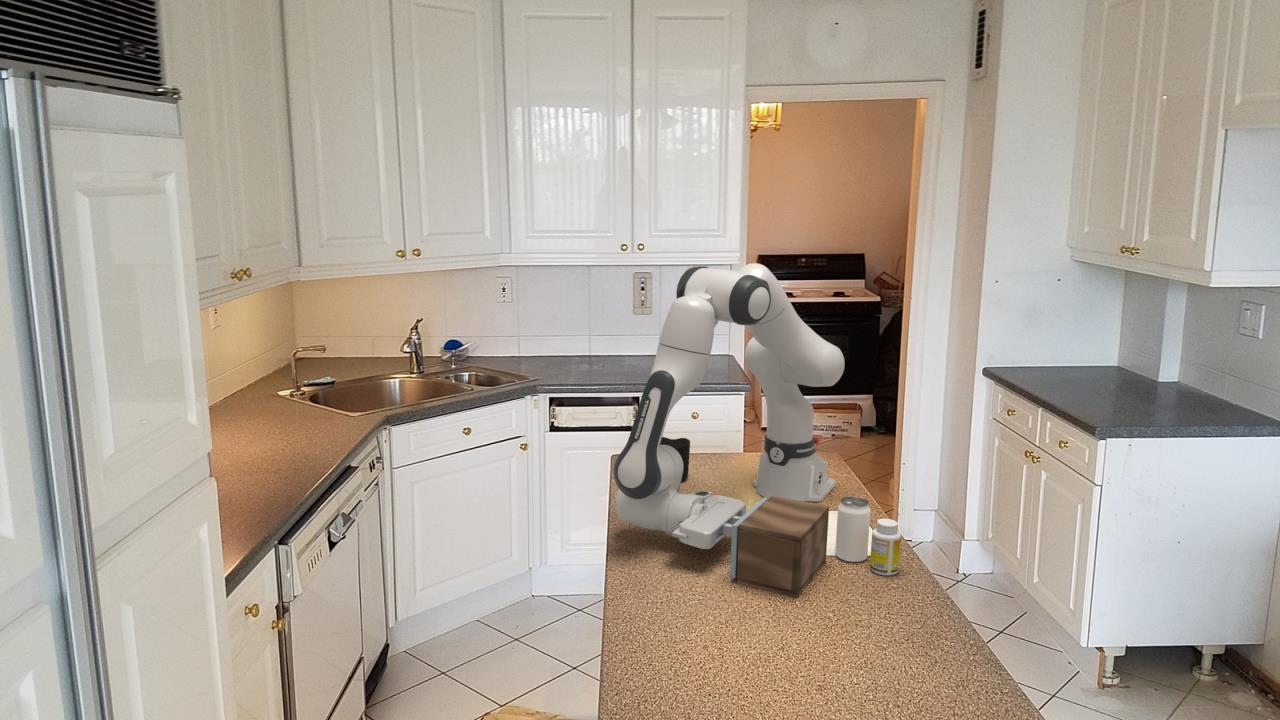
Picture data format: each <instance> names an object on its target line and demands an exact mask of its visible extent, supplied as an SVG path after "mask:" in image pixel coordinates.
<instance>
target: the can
mask: <svg viewBox="0 0 1280 720" xmlns="http://www.w3.org/2000/svg"><path fill="white" fill-rule="evenodd" d="M869 504H870V502H869V501H868V500H867V499H865V498H863V497H859V496H844V497H842V498H841V499H840V503H839V505H838V506H837V517H836V518H837V519H836V535H835V550H834V551H835V552H834V554H835V556H836V557H837V558H838V559H839V560H840V561H843V562H846V563H853V564H854V563H855V564H856V563H861V562H864V561H866V559H867V558H868V551H869V550H868V549H869V541H870V540H869V537H870V523H871V508H870V506H869Z"/></svg>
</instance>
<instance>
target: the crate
mask: <svg viewBox="0 0 1280 720" xmlns="http://www.w3.org/2000/svg"><path fill="white" fill-rule="evenodd" d="M829 513H830V506H829V505H824V504H818V503H814V502H813V503H812V502H809V501H804V502H803V501H798V500H792V499H787V498H782V497H776V496H771V497H770V498H769V499H768V500H767V501H766V502H764V503H763V504H762V505H761V506H760V507H759V508H757V509H756V510H755V511H754V512H753V513H752V514H751V515H749V516H748V517H747V518H746V519H745V520H744V521H743V522H741V523H740V524H739V541H738V566H737V577H736V584H737V585H741V586H745V587H750V588H754V589H758V590H762V591H767V592H770V593H775V594H779V595H783V596H788V597H793V598H796V599H797V598H798V597H799V596H800V595H801V594H802V593H803V591H805V589H806V588H807V586H808V585H809V584H810V583H811V581H812V580H813V579H814V578H815V577H816V575H817V574H818V573H819V572H820V570H821V569H822V568H823V567H824V565H825V564H826V563H827V548H828V547H827V546H828V534H829V533H828V530H829V516H830V514H829Z"/></svg>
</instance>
